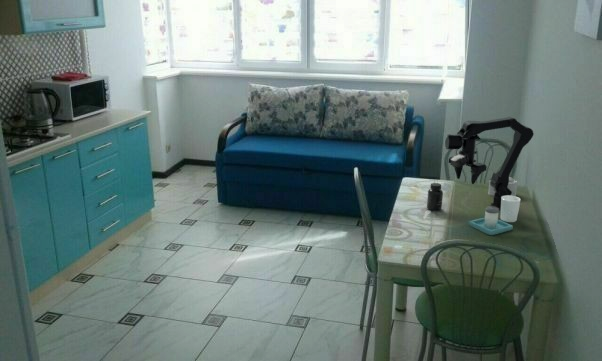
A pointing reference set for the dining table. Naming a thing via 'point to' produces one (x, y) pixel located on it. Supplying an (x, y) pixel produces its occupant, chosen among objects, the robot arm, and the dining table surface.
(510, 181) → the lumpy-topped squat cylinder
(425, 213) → the butter knife
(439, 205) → the supplement bottle
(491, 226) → the spice jar
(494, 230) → the tray
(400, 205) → the dining table surface
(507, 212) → the white cup
